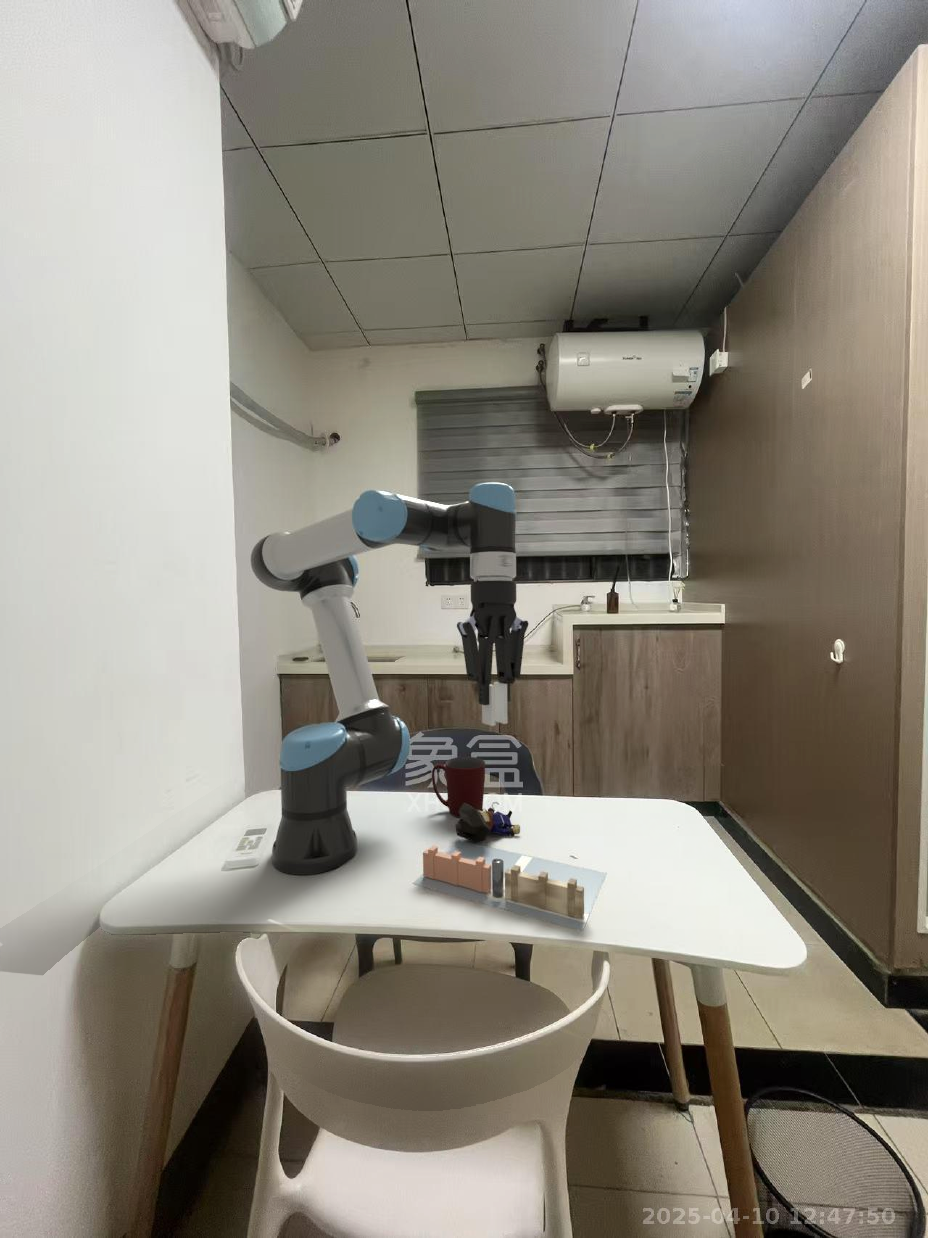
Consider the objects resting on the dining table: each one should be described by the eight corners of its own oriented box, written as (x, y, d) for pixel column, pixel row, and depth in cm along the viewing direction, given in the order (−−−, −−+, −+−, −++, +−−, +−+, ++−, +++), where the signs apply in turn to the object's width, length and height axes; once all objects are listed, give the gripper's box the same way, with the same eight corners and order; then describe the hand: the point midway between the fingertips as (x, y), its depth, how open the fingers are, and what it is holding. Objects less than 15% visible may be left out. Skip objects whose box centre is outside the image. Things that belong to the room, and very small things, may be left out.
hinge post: (490, 898, 79) (490, 863, 78) (495, 892, 80) (494, 857, 80) (501, 901, 78) (500, 865, 78) (505, 895, 79) (505, 860, 79)
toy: (531, 824, 101) (479, 823, 92) (517, 852, 102) (464, 854, 92) (503, 797, 108) (452, 793, 99) (490, 823, 109) (438, 822, 99)
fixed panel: (504, 898, 78) (504, 867, 78) (508, 893, 79) (507, 863, 79) (581, 919, 72) (581, 886, 72) (584, 913, 74) (584, 881, 73)
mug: (428, 818, 109) (427, 767, 109) (436, 802, 118) (435, 755, 118) (483, 820, 107) (483, 769, 107) (487, 804, 116) (486, 757, 116)
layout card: (412, 885, 83) (412, 883, 83) (459, 841, 98) (459, 840, 98) (582, 933, 70) (582, 930, 70) (606, 874, 85) (606, 872, 85)
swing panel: (491, 889, 80) (491, 859, 80) (488, 894, 79) (487, 863, 79) (427, 872, 86) (427, 844, 86) (422, 876, 84) (422, 848, 84)
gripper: (468, 577, 75) (470, 734, 76) (542, 580, 83) (543, 721, 84) (442, 580, 82) (444, 725, 82) (514, 582, 90) (515, 713, 90)
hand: (494, 722), depth 83 cm, fingers open, 2 cm apart
